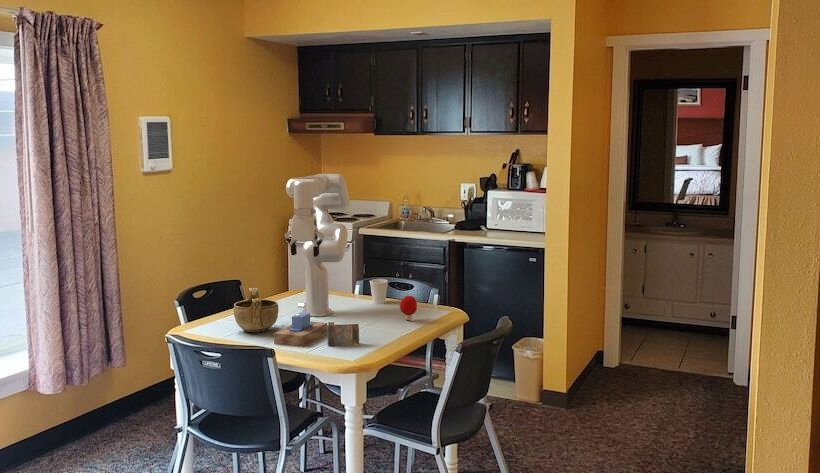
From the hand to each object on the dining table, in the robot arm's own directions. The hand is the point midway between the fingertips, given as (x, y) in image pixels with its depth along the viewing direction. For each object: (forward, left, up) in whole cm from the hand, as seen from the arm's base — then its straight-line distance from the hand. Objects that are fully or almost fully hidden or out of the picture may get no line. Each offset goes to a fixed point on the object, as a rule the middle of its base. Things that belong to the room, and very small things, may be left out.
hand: (304, 255), depth 310 cm
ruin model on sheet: (+26, -21, -29) cm, 44 cm away
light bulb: (+36, +20, -28) cm, 50 cm away
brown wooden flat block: (+7, -18, -28) cm, 34 cm away
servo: (+7, -18, -27) cm, 33 cm away
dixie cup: (+12, +48, -28) cm, 57 cm away
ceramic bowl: (-15, -13, -28) cm, 35 cm away
